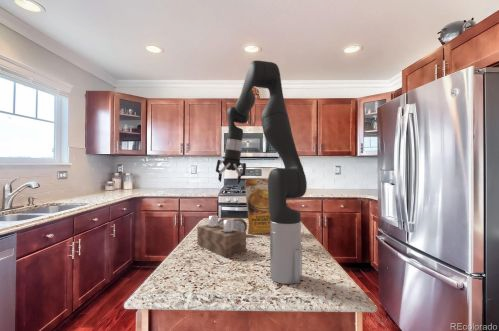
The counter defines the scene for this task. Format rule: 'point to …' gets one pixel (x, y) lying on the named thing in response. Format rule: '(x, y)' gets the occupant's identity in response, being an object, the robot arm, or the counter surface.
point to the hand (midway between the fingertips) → (229, 182)
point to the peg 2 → (228, 226)
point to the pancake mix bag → (257, 206)
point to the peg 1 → (213, 221)
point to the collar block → (221, 240)
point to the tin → (236, 223)
